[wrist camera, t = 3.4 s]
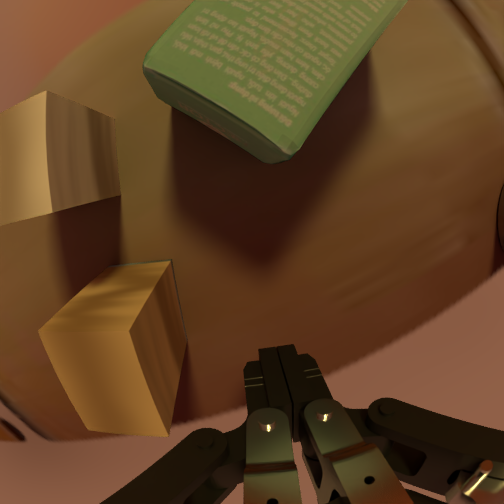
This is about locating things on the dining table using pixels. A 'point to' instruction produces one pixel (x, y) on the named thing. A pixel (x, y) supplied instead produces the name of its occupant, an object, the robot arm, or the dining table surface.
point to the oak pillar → (121, 349)
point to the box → (264, 65)
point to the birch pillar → (54, 157)
